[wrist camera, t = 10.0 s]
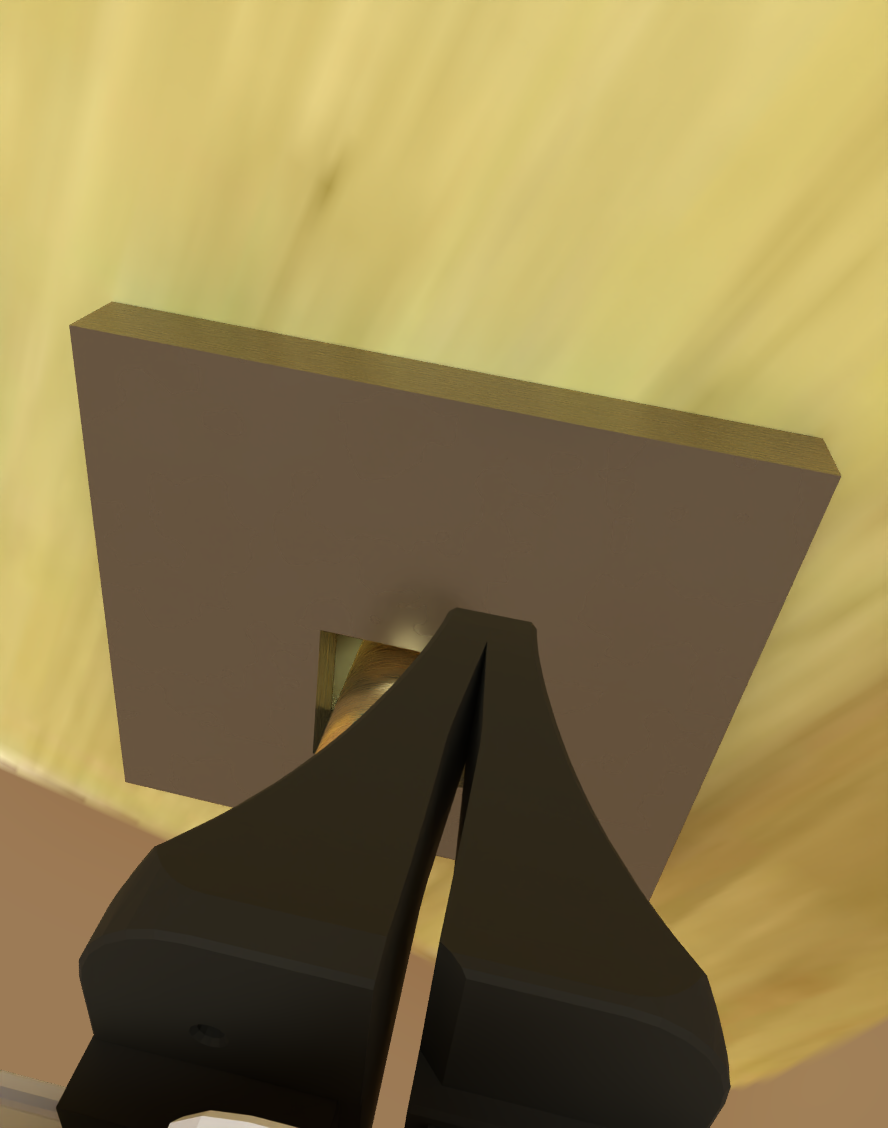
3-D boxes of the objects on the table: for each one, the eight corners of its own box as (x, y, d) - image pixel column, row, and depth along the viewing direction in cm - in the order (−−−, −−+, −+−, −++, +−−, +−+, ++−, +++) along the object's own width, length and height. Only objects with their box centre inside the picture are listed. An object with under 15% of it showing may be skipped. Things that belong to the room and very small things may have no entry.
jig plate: (823, 438, 20) (840, 475, 18) (645, 855, 29) (647, 905, 27) (112, 301, 21) (69, 325, 20) (152, 740, 30) (125, 782, 29)
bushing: (474, 631, 25) (438, 785, 20) (464, 719, 27) (429, 878, 22) (358, 612, 25) (293, 758, 20) (356, 700, 27) (297, 852, 22)
